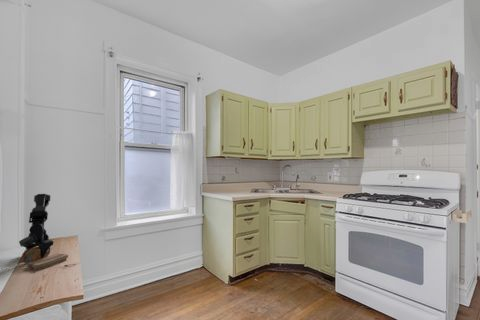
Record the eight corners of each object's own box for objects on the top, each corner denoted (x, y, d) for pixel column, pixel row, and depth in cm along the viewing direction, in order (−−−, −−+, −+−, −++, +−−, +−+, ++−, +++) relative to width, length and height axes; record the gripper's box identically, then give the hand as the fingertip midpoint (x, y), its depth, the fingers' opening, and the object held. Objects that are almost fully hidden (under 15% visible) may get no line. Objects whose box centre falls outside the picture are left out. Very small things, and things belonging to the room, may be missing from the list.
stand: (26, 269, 131) (27, 263, 131) (57, 258, 148) (58, 253, 148) (37, 270, 129) (38, 265, 129) (67, 259, 146) (68, 254, 146)
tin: (24, 265, 136) (25, 250, 136) (20, 265, 137) (21, 250, 137) (50, 256, 151) (51, 242, 151) (46, 256, 151) (47, 242, 152)
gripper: (10, 232, 139) (9, 260, 138) (34, 235, 134) (33, 263, 134) (31, 228, 150) (30, 253, 149) (54, 230, 145) (53, 257, 144)
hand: (36, 257), depth 144 cm, fingers open, 9 cm apart
